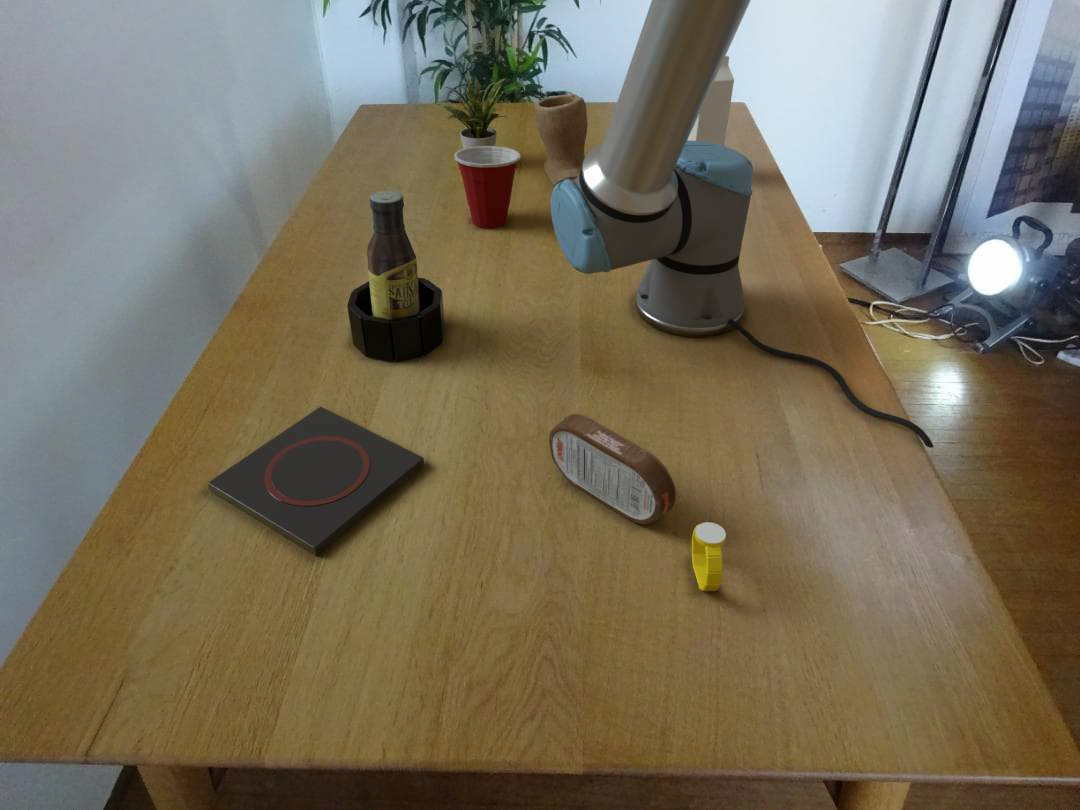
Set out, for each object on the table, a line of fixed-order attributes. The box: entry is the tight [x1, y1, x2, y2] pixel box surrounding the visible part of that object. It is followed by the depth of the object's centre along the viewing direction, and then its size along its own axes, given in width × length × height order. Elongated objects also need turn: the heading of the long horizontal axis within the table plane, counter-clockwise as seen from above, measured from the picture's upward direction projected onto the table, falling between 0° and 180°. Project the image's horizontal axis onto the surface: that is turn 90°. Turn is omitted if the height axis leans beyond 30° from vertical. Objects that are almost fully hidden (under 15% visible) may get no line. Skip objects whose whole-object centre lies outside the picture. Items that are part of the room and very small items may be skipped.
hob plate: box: [207, 406, 425, 557], centre depth 87 cm, size 16×16×1 cm
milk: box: [688, 55, 735, 146], centre depth 147 cm, size 6×6×22 cm
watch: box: [691, 521, 727, 592], centre depth 75 cm, size 6×3×6 cm, turn 3°
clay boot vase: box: [534, 93, 589, 187], centre depth 148 cm, size 15×12×15 cm
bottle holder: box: [346, 276, 446, 363], centre depth 108 cm, size 12×12×6 cm
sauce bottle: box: [366, 190, 420, 319], centre depth 103 cm, size 7×6×20 cm
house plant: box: [436, 76, 508, 149], centre depth 155 cm, size 14×14×16 cm
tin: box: [548, 412, 677, 525], centre depth 82 cm, size 15×3×8 cm, turn 47°
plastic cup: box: [454, 145, 521, 230], centre depth 135 cm, size 11×11×12 cm
